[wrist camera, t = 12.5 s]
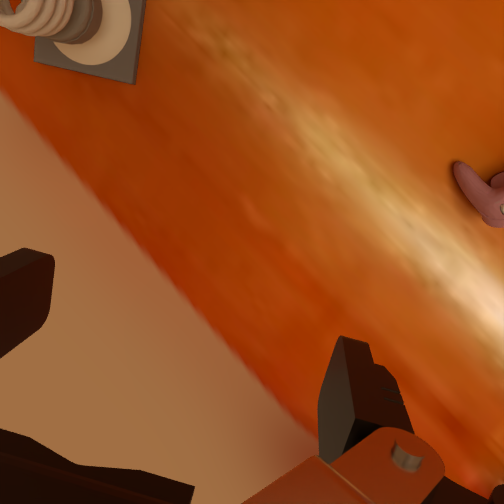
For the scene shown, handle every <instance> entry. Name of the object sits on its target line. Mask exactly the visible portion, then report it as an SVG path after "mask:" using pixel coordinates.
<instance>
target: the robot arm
mask: <svg viewBox="0 0 504 504" xmlns="http://www.w3.org/2000/svg"><path fill="white" fill-rule="evenodd" d="M54 269H55V260H54V257H53V256H52V255H50V254H46V253H42V252H39V251H35V250H32V249H28V248H21V249H19V250H17V251H14V252H12V253H10V254H7V255H5V256H3V257H0V358H2V357H3V356H4V355H6V354H7V353H8V352H9V351H11V350H12V349H13V348H15V347H16V346H17V345H19V344H20V343H21V342H23V341H24V340H25V339H27V338H28V337H29V336H31V335H32V334H33V333H35V332H36V331H37V330H39V329H40V328H41V327H42V325H43V324H44V322H45V321H46V319H47V316H48V314H49V310H50V303H51V295H52V286H53V278H54ZM403 404H404V402H403V399H402V396H401V395H400V390H399V388H398V385H397V382H396V379H395V378H394V377H393V376H392V375H391V374H390V372H389V371H388V370H387V369H386V368H385V367H384V366H381V365H378V364H374V362H373V358H372V355H371V351H370V347H369V344H368V343H366V342H363V341H359V340H355V339H352V338H348V337H345V336H339V338H338V340H337V342H336V345H335V348H334V351H333V354H332V357H331V360H330V363H329V366H328V369H327V372H326V375H325V378H324V381H323V384H322V387H321V390H320V395H319V400H318V436H319V456H318V455H314V456H312V457H310V458H308V459H306V460H305V461H304V462H302V463H301V464H299V465H298V466H296V467H295V468H293V469H292V470H290V471H289V472H287V473H286V474H284V475H283V476H281V477H280V478H278V479H277V480H275V481H274V482H272V483H271V484H269V485H268V486H267V487H265V488H264V489H262V490H261V491H259V492H258V493H257V494H255V495H253V496H252V497H250V498H249V499H247V500H246V501H244V502H243V503H241V504H504V484H502V485H498V486H497V487H495V488H494V490H493V491H492V493H491V495H490V497H489V499H486V498H484V497H482V496H480V495H478V494H476V493H474V492H472V491H470V490H468V489H466V488H464V487H462V486H460V485H459V484H457V483H455V482H453V481H451V480H450V479H448V478H447V477H445V476H444V474H445V466H444V463H443V461H442V459H441V457H440V456H439V454H438V453H437V452H436V451H435V450H434V449H433V448H432V447H431V446H430V445H429V444H428V443H427V442H425V441H424V440H423V439H421V438H419V437H418V436H416V435H415V434H414V431H413V428H412V425H411V422H410V419H409V416H408V414H407V411H406V408H405V405H403ZM194 489H195V486H192V485H188V484H185V483H182V482H178V481H175V480H171V479H168V478H165V477H161V476H158V475H155V474H152V473H148V472H145V471H141V470H131V469H119V468H106V467H95V466H83V465H78V464H75V463H73V462H71V461H69V460H67V459H66V458H64V457H62V456H60V455H59V454H57V453H55V452H54V451H52V450H50V449H49V448H47V447H45V446H43V445H41V444H40V443H38V442H37V441H35V440H33V439H32V438H30V437H26V436H24V435H20V434H17V433H14V432H10V431H7V430H3V429H0V504H191V500H192V496H193V493H194Z"/></svg>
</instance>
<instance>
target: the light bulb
mask: <svg viewBox="0 0 504 504" xmlns="http://www.w3.org/2000/svg"><path fill="white" fill-rule="evenodd" d="M102 14H103V9H102V2H101V0H21V3H20V4H19V5H18V6H17V8H16V12H15V14H14V12H13V10H12V8H11V5H10V2H9V0H0V26H2V27H5V28H7V29H9V30H11V31H13V32H17V33H22V34H24V35H28V36H42V37H45V38H46V39H49V40H51V41H53V42H58V43H64V44H71V45H73V44H83V43H84V42H86V41H88V40H90V39H91V38H92V37H93V36H94V35H95V34H96V33H97V32H98V30H99V28H100V25H101V21H102Z"/></svg>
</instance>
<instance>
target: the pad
mask: <svg viewBox="0 0 504 504" xmlns="http://www.w3.org/2000/svg"><path fill="white" fill-rule="evenodd" d="M101 2H102V9H103V14H102V21H101V25H100V28H99V30H98V32H97V33H96V34H95V35H94V36H93V37H92V38H91V39H90V40H88V41H86V42H84V43H83V44H73V45H71V44H64V43H58V42H53V41H51V40H49V39H46V38H45V37H42V36H35V50H34V62H39V63H43V64H47V65H52V66H56V67H60V68H65V69H69V70H73V71H78V72H82V73H86V74H90V75H95V76H99V77H103V78H108V79H112V80H116V81H121V82H125V83H129V84H134V85H135V82H136V75H137V67H138V59H139V52H140V44H141V36H142V29H143V21H144V13H145V6H146V0H101Z"/></svg>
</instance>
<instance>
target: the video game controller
mask: <svg viewBox="0 0 504 504" xmlns="http://www.w3.org/2000/svg"><path fill="white" fill-rule="evenodd" d="M454 176H455V178H456V180H457V182H458V184H459V186H460V188H461V190H462V191H463V193H464V194H465V195H466V197H467V198H468V200H469V201H470V202H471V203H472V204H473V206H474V207H475V208H476V209H477V210H478V212H479V213H480V214H481V216H482V219H483V221H484V222H485V223H486V224H487V225H489V226H491V227H497V228H502V227H504V172H502V173H499V174H497V175H496V176H494V177H493V178H492V180H491V187H490V186H488V185H487V184H486V183H485V182H484V181H483V180H482V179H481V178H480V177H479V176H478V175H477V174H476V173H475V171H474V170H473V169H472V168H471V167H470V166H468V165H467V164H465V163H463V162H456V163H455V164H454Z"/></svg>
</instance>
